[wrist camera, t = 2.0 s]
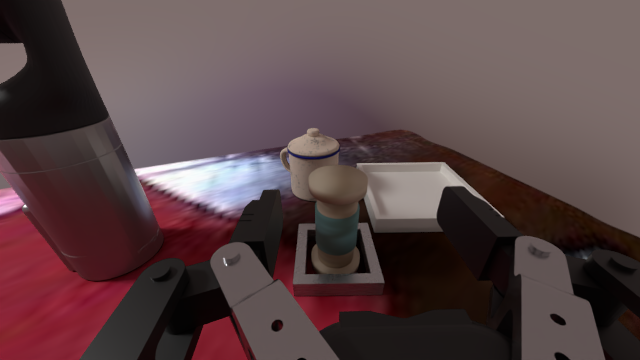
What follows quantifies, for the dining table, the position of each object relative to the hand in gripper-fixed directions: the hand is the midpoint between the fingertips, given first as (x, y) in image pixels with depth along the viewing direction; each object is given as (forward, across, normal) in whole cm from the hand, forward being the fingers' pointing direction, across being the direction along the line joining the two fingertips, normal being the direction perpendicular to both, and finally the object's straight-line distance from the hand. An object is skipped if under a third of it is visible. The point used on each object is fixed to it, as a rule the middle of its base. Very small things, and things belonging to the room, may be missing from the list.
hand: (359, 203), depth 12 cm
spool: (+11, 0, +17) cm, 20 cm away
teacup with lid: (+29, +4, +17) cm, 34 cm away
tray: (+25, -15, +17) cm, 34 cm away
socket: (+11, 0, +17) cm, 20 cm away
